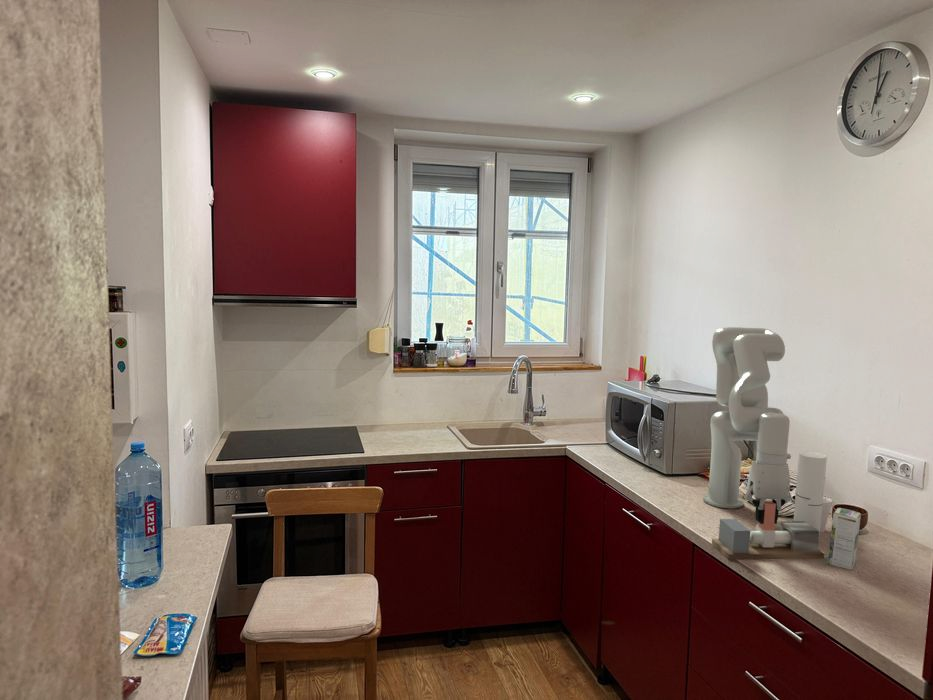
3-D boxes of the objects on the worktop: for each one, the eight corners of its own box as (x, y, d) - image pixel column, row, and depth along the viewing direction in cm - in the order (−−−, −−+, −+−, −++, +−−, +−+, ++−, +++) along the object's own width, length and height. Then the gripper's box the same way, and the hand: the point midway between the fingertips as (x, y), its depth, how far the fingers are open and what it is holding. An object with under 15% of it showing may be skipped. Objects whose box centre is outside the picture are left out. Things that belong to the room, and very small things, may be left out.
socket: (718, 540, 179) (720, 518, 178) (733, 539, 179) (735, 518, 179) (732, 553, 171) (734, 530, 170) (748, 552, 171) (750, 530, 170)
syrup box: (831, 557, 173) (836, 506, 171) (856, 563, 169) (861, 512, 167) (827, 564, 169) (832, 512, 167) (852, 571, 165) (858, 518, 163)
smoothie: (826, 526, 194) (830, 483, 193) (832, 534, 188) (836, 489, 187) (803, 524, 196) (807, 480, 194) (809, 532, 190) (813, 487, 188)
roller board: (711, 543, 180) (713, 519, 179) (802, 543, 182) (804, 519, 181) (728, 559, 170) (730, 533, 169) (824, 559, 172) (826, 533, 171)
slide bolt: (746, 540, 178) (749, 499, 176) (800, 540, 178) (804, 499, 177) (754, 547, 173) (758, 505, 172) (810, 547, 174) (814, 505, 172)
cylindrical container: (795, 529, 192) (802, 449, 189) (821, 535, 187) (829, 454, 184) (789, 536, 186) (796, 454, 183) (816, 543, 182) (824, 459, 179)
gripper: (792, 454, 177) (786, 516, 179) (735, 454, 176) (731, 517, 178) (808, 462, 169) (802, 527, 172) (749, 462, 168) (744, 527, 170)
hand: (766, 521), depth 175 cm, fingers closed on slide bolt, 3 cm apart
